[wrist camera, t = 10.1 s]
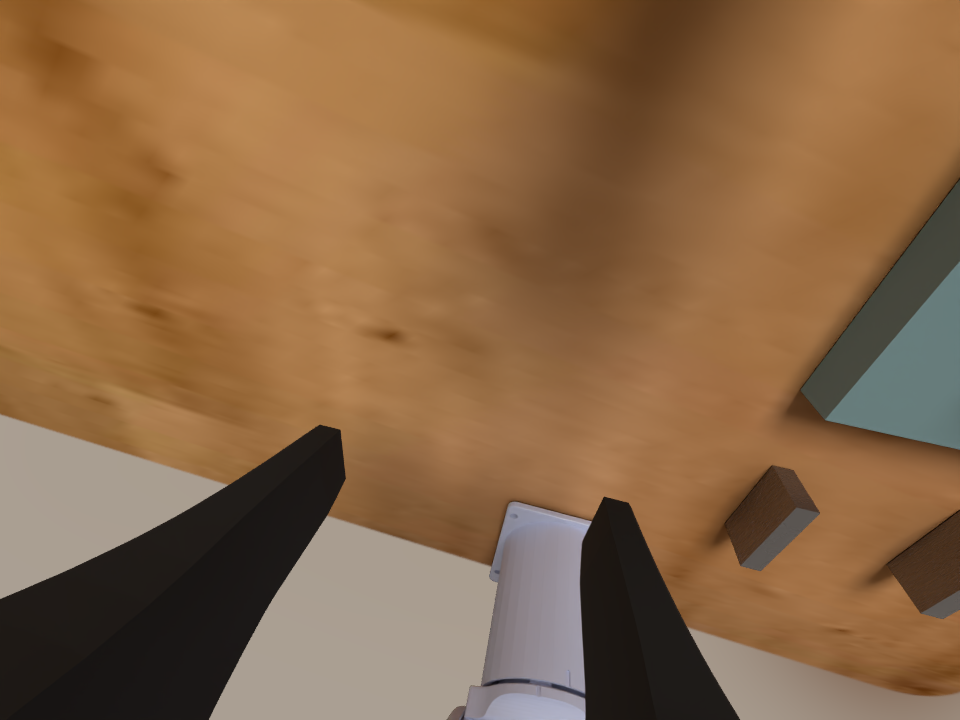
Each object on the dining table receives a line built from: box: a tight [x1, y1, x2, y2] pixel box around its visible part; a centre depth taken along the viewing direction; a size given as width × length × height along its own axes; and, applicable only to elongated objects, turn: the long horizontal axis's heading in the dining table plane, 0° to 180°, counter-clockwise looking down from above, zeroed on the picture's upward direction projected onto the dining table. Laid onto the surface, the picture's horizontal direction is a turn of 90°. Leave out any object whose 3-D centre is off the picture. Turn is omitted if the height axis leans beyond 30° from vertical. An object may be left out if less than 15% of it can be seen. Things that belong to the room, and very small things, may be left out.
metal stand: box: [725, 466, 960, 619], centre depth 19 cm, size 5×10×2 cm, turn 82°
